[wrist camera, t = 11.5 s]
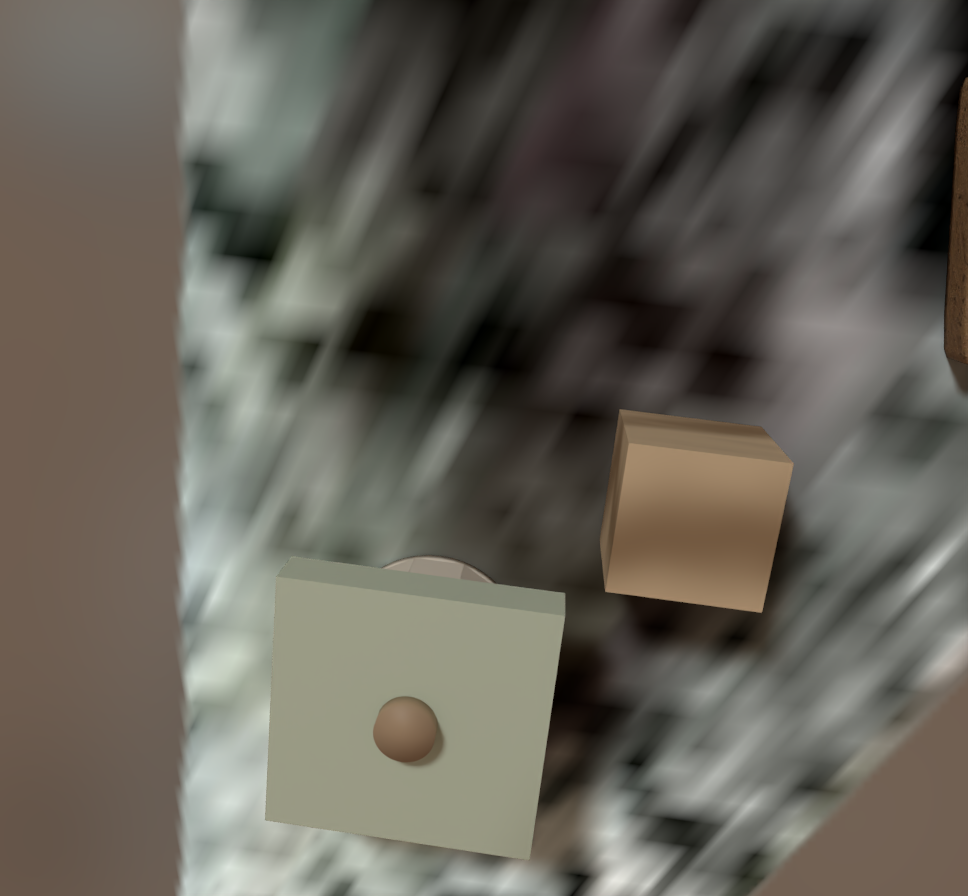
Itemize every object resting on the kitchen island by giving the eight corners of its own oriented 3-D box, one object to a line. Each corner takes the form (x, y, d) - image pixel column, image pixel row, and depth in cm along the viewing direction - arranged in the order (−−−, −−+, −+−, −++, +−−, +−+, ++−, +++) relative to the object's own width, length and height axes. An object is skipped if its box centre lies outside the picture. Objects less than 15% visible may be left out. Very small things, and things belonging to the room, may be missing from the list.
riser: (619, 409, 38) (628, 442, 32) (761, 426, 37) (793, 463, 32) (599, 539, 39) (605, 591, 34) (735, 557, 39) (761, 612, 34)
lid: (291, 556, 35) (269, 585, 33) (564, 593, 35) (565, 626, 32) (279, 789, 38) (258, 833, 36) (531, 827, 38) (528, 874, 35)
